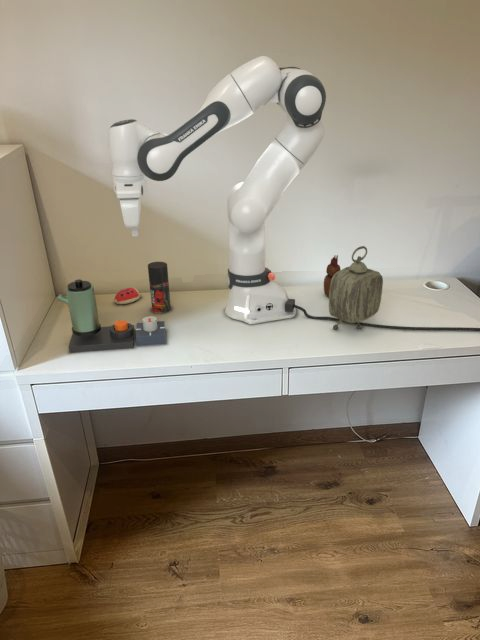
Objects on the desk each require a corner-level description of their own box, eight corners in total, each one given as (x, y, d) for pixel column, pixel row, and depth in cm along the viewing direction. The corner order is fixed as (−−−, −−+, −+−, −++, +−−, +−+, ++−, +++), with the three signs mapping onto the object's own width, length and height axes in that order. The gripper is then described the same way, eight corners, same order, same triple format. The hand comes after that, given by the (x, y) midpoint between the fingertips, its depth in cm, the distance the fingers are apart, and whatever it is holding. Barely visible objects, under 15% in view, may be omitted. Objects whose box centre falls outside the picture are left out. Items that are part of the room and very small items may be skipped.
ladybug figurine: (145, 297, 182) (144, 287, 181) (123, 307, 175) (122, 297, 173) (130, 293, 186) (129, 283, 184) (109, 303, 178) (107, 293, 177)
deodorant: (174, 307, 176) (170, 263, 168) (164, 314, 171) (159, 269, 164) (159, 304, 178) (154, 260, 171) (148, 311, 173) (143, 266, 166)
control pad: (165, 330, 162) (164, 320, 160) (166, 344, 154) (165, 334, 152) (137, 332, 160) (136, 322, 159) (136, 346, 153) (135, 336, 151)
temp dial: (143, 326, 157) (141, 315, 155) (157, 324, 158) (156, 314, 156) (143, 332, 154) (142, 321, 152) (157, 331, 154) (156, 320, 153)
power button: (128, 325, 156) (127, 319, 155) (127, 331, 153) (127, 325, 152) (115, 326, 155) (114, 320, 155) (114, 332, 152) (113, 325, 151)
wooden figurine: (341, 300, 182) (344, 257, 174) (323, 299, 182) (326, 256, 174) (338, 292, 188) (342, 250, 180) (322, 291, 188) (324, 250, 180)
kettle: (102, 319, 159) (95, 271, 151) (99, 335, 150) (91, 285, 143) (66, 321, 157) (57, 273, 150) (61, 338, 148) (51, 287, 141)
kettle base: (135, 330, 161) (133, 318, 159) (133, 348, 152) (132, 335, 150) (75, 334, 159) (72, 322, 157) (69, 353, 149) (67, 340, 147)
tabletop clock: (356, 315, 171) (363, 238, 159) (380, 324, 166) (389, 245, 153) (326, 329, 162) (332, 249, 150) (350, 340, 157) (358, 257, 144)
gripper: (120, 177, 155) (125, 225, 162) (115, 193, 138) (122, 246, 144) (142, 176, 156) (147, 224, 163) (140, 193, 139) (146, 245, 145)
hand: (135, 234), depth 154 cm, fingers closed
